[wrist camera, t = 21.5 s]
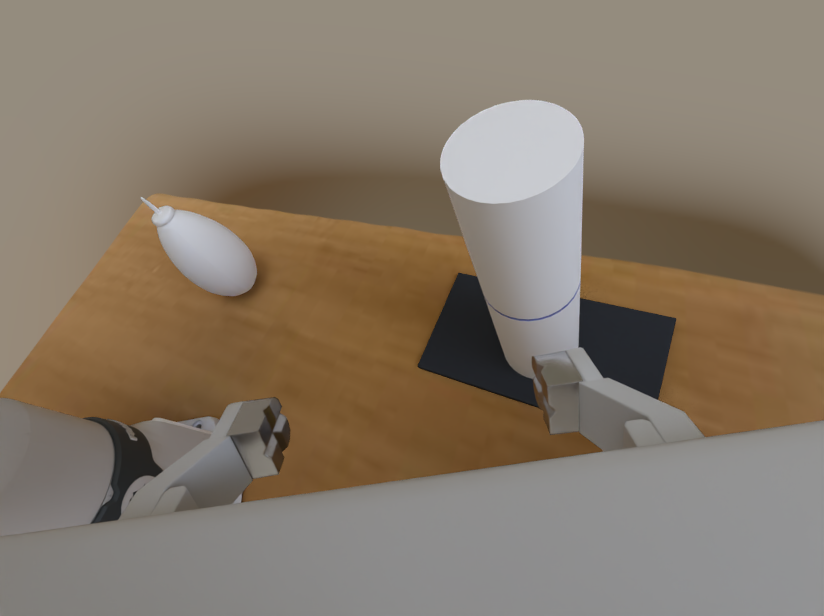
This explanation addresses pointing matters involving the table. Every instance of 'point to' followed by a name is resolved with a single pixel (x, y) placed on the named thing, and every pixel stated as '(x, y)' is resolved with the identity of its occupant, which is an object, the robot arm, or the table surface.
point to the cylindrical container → (522, 221)
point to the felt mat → (598, 335)
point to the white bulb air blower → (205, 251)
